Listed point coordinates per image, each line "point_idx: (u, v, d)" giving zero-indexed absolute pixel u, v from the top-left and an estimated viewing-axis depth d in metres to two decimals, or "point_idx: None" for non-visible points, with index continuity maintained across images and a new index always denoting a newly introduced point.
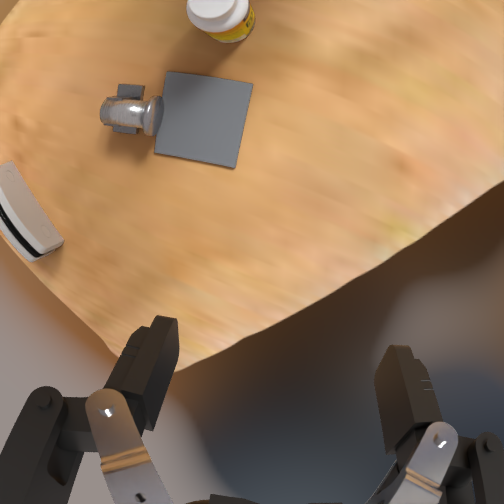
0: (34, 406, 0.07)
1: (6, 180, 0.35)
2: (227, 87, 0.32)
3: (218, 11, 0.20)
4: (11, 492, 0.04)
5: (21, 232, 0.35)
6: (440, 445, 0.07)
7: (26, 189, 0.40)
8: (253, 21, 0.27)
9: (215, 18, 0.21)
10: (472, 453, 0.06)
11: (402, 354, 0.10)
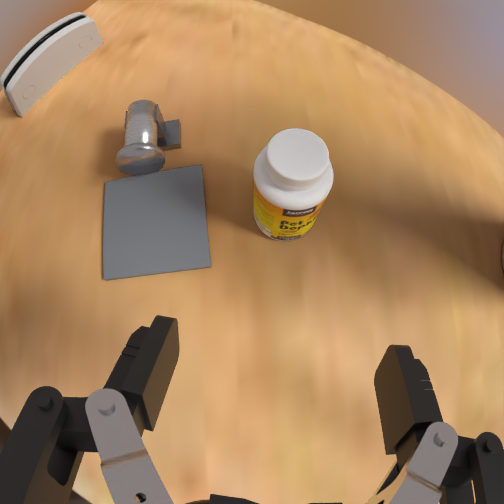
0: (34, 406, 0.07)
1: (80, 36, 0.31)
2: (196, 237, 0.28)
3: (282, 166, 0.19)
4: (11, 492, 0.04)
5: (26, 61, 0.27)
6: (440, 445, 0.07)
7: (72, 64, 0.35)
8: (292, 235, 0.26)
9: (270, 167, 0.19)
10: (472, 453, 0.06)
11: (402, 354, 0.10)
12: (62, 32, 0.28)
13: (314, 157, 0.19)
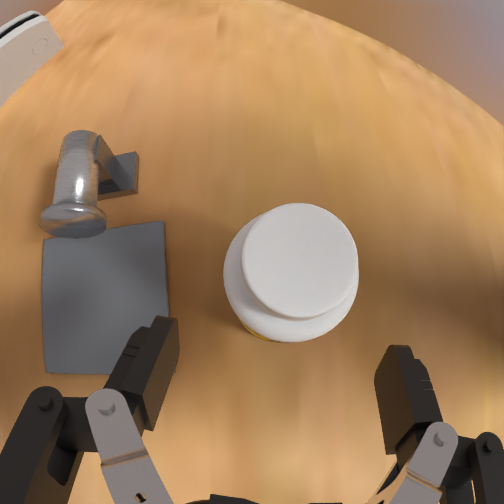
0: (34, 406, 0.07)
1: (32, 40, 0.23)
2: None
3: (269, 289, 0.10)
4: (11, 492, 0.04)
5: None
6: (440, 445, 0.07)
7: (26, 74, 0.26)
8: None
9: (248, 287, 0.11)
10: (472, 453, 0.06)
11: (402, 354, 0.10)
12: (8, 37, 0.19)
13: (330, 267, 0.10)
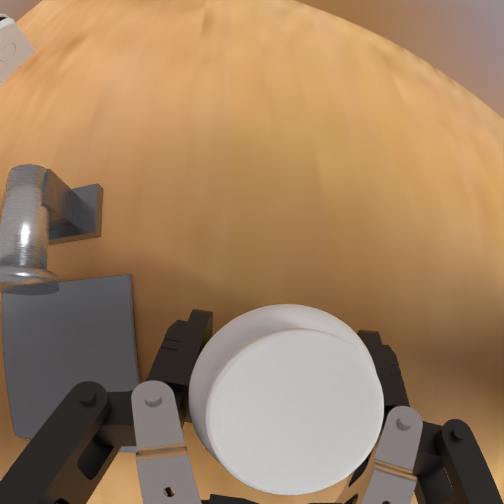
0: (76, 399, 0.07)
1: None
2: None
3: (247, 465, 0.06)
4: (34, 480, 0.05)
5: None
6: (402, 429, 0.07)
7: None
8: None
9: (217, 454, 0.06)
10: (440, 443, 0.07)
11: (369, 339, 0.11)
12: None
13: (342, 430, 0.06)
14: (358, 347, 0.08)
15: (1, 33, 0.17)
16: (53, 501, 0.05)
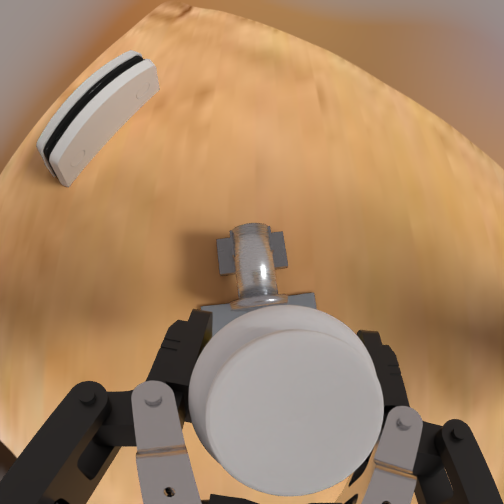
0: (76, 399, 0.07)
1: (139, 85, 0.30)
2: None
3: (247, 466, 0.06)
4: (34, 479, 0.05)
5: (75, 121, 0.25)
6: (402, 429, 0.07)
7: (125, 117, 0.33)
8: None
9: (217, 455, 0.06)
10: (440, 443, 0.07)
11: (369, 339, 0.11)
12: (119, 81, 0.26)
13: (341, 432, 0.06)
14: (358, 348, 0.08)
15: (144, 74, 0.29)
16: (53, 501, 0.05)
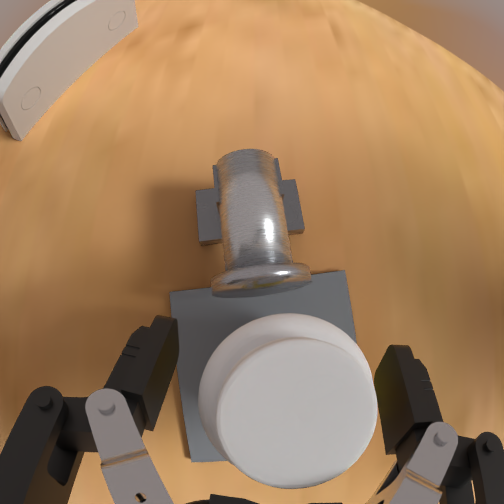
0: (34, 406, 0.07)
1: (111, 10, 0.20)
2: None
3: (254, 461, 0.06)
4: (11, 492, 0.04)
5: (27, 45, 0.15)
6: (440, 445, 0.07)
7: (95, 54, 0.23)
8: None
9: (226, 452, 0.07)
10: (472, 453, 0.06)
11: (402, 354, 0.10)
12: (86, 0, 0.16)
13: (339, 430, 0.07)
14: (355, 353, 0.09)
15: None
16: None
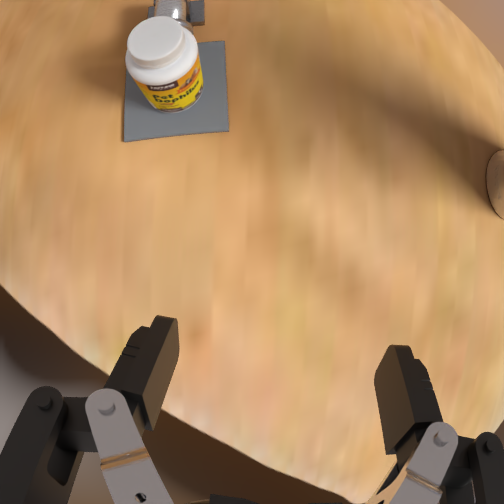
0: (34, 406, 0.07)
1: None
2: (217, 104, 0.28)
3: (136, 50, 0.17)
4: (11, 492, 0.04)
5: None
6: (440, 445, 0.07)
7: None
8: (171, 107, 0.26)
9: (129, 51, 0.18)
10: (472, 453, 0.06)
11: (402, 354, 0.10)
12: None
13: (166, 40, 0.17)
14: (188, 33, 0.19)
15: None
16: None
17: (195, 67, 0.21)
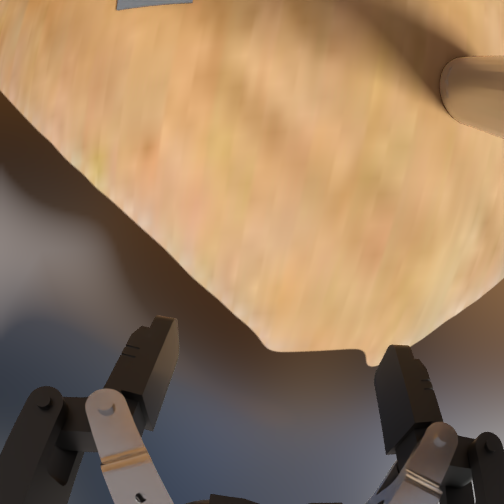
0: (34, 406, 0.07)
1: None
2: None
3: None
4: (11, 492, 0.04)
5: None
6: (440, 445, 0.07)
7: None
8: None
9: None
10: (472, 453, 0.06)
11: (402, 354, 0.10)
12: None
13: None
14: None
15: None
16: None
17: None
